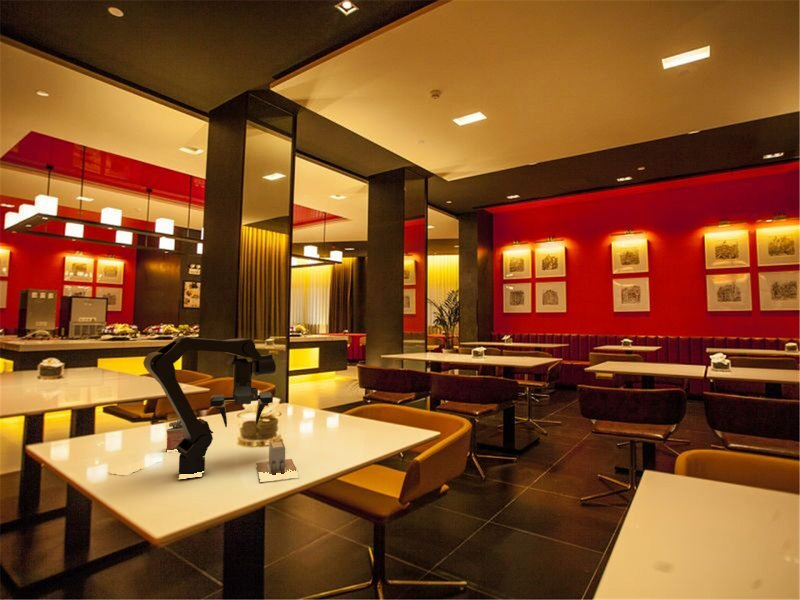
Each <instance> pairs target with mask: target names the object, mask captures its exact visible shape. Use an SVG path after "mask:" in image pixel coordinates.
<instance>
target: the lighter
mask: <svg viewBox="0 0 800 600" xmlns="http://www.w3.org/2000/svg"><path fill="white" fill-rule="evenodd" d="M168 426H169V427H170V428H168V429H166V449H165V451H166V450H174V449H177V448H176V447H177V445H178V444H179V443H180V442H181V441H182V440H183V439H184V435H183V429H182V423H181V421H180V419H178V420H176V421H172V422H169V423H168ZM171 427H172V428H171Z"/></svg>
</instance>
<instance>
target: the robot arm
mask: <svg viewBox="0 0 800 600" xmlns="http://www.w3.org/2000/svg"><path fill="white" fill-rule="evenodd" d="M188 351H201V352H216V353H217V352H218V353H219V352H220V353H226V354H231V355H234V356H231V357H230V359H228V360H227V361H226V363H227V365H233V371H232V373H233V377H232V379H233V380H232V395H231V396H225V394H224V393H221V394H212V395H211V396H210V403H209V404H210V407H211V408H214V409H215V410H218V411H219V412H220V415H221V417H222V420H223V424H224V427H225V428H227V427H228V419H227V418H228V417H227V411H226V404H228V403H234V405H236V406H241V405H251V403H252V402H257V407H256V415H255V426H256V425H258V424H259V420H260V418H261V415H262V412H263V410H264V408H265V407H266V406H269V404H272V403H274V401H273V399H274V397H273V394H272V392H271V391H260V392H259V389H258V387H253V375H254V376H255V377H256V376H257V377H259V376H267V375H273V374H275V372H276V369H277V367H276V366H277V365H276V362H275V359H274V358H273V354H270V353H269V354H268V353H267V354H264V355H263V354H260V352H259V351H258V350H257V348H256V344H255V342H254V340H252V339H251V338H250V339H249V338H241V337H239V338H229V339H211V338H198V337H189V336H185V335H184V336H183V335H181V336H178V337H176V338H175V339H174V340H172V341H171V342H169V343H168V344H166V345H164V346H162V347H161V348H159V349H158V350H156V351H153V352H150V353H148V354H147V355H146V356H145V357H144V359H143V367H144V368H145V370H146V371H147V372H148V373H149V374H150V375H151V377H152V378H153V379H155V381H156V382H157V383H158V384H159V385H160V386H161V388H162V390H163V392H164V394H165V396H166V397H167V399H168V401H169V403H170V404H171V407H172V408H173V410H174V413H175V415H176V416H177V417H178V420H180V421H181V423H182V429H183V435H184V439H183V440H182V441H181V442H180V443H179V444H178V445H177V447H176V448H177V450H178V451H177V452H178V453H179V457H178V458H179V459H178V475H179V474H194V473H197V472H202V471H206V467H205V466H206V457H205V456H206V454H207V451H208V449H209V447H210V446H211V444H212V442H213V440H214V437H213V435H212V434H214V431H213V430H212V429H211V428H210V425H209V423H208V421H206V420H204V419H202V418H198V417H197V415H196V413H195V412H194V410H193V408H192V407H191V404H190V403H189V401H188V398H187V397H186V395H185V393H184V391H183V389H182V387H181V385H180V383H179V382H178V380H177V375H176V368H175V365H174V364H175V363H177V362H178V361H179V360H180V359H181V358H182V357H183V356H184V354H185V353H186V352H188ZM239 356H240V357H241V358H237V357H239ZM248 359H249V360H248Z"/></svg>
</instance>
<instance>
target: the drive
mask: <svg viewBox="0 0 800 600" xmlns="http://www.w3.org/2000/svg"><path fill="white" fill-rule="evenodd" d="M268 443H269V444H268V445H269V446H268V461H269V468H270V471H271V473H272V464H277V472H281V463H285V459H286V446H285V444H284V441H283V440H282V441H281V440H280V441H278V440H277V441H270V442H268Z"/></svg>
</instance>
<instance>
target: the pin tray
mask: <svg viewBox="0 0 800 600" xmlns="http://www.w3.org/2000/svg"><path fill="white" fill-rule="evenodd" d="M256 465H257V469H258V472H263V473H265V472H267V473H268V472H269V474H272V475H276V473H281V474H284V473H285V472H287V470H288V471H289V469H290V470H292V471H294V470H295V471H296V470H297V466H296V465H295V463H294V461H293V459H292V458H287V459H286V458H285V463H281V472H277V464H272V473H271V471H270V468H269V460H268V461H262V462H256V463H255V466H256ZM257 469H256V470H257ZM297 471H298V470H297ZM290 472H291V471H290Z"/></svg>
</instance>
